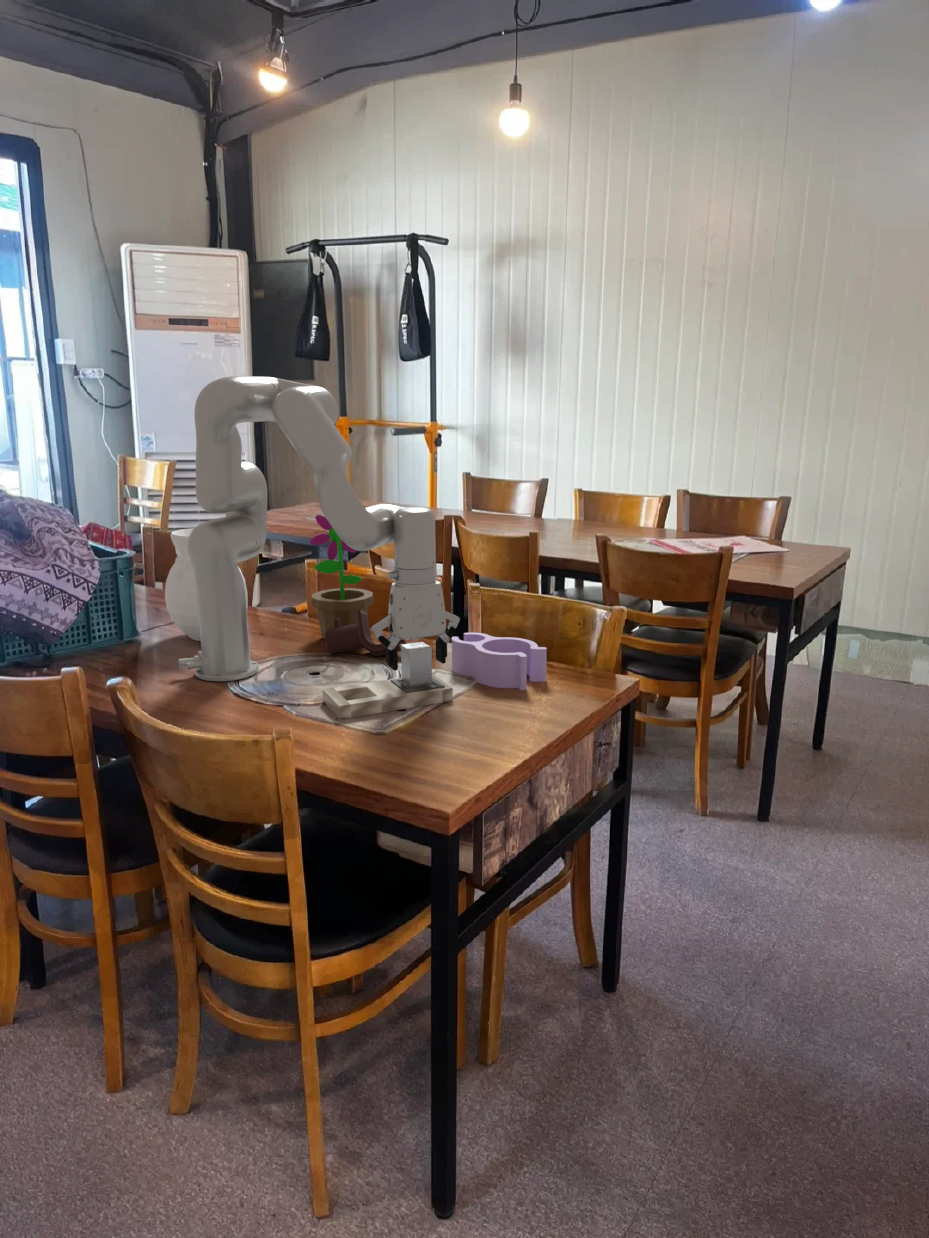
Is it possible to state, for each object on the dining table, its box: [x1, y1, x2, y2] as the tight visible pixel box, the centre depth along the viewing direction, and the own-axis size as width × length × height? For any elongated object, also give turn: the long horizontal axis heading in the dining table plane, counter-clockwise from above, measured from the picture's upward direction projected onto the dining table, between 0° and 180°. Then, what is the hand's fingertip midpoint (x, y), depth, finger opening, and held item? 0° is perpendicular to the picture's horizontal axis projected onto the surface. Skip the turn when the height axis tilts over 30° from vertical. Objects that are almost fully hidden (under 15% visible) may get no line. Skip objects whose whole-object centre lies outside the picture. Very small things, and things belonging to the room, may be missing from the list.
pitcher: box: [164, 527, 249, 642], centre depth 212 cm, size 19×18×25 cm
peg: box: [400, 641, 433, 689], centre depth 172 cm, size 4×4×10 cm
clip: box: [451, 632, 548, 691], centre depth 185 cm, size 20×12×7 cm, turn 49°
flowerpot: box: [309, 514, 374, 639], centre depth 210 cm, size 14×14×30 cm
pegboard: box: [322, 673, 454, 720], centre depth 170 cm, size 22×10×3 cm, turn 115°
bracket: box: [324, 610, 408, 657], centre depth 200 cm, size 6×17×10 cm, turn 86°
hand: (417, 664), depth 172 cm, fingers open, 9 cm apart
